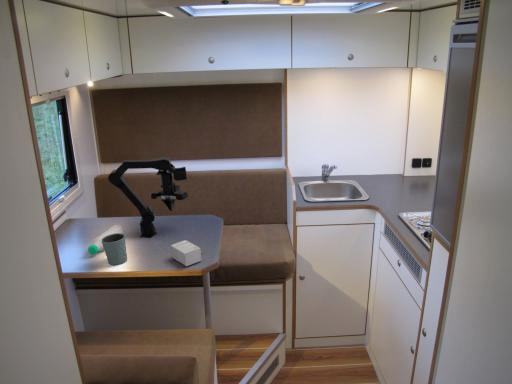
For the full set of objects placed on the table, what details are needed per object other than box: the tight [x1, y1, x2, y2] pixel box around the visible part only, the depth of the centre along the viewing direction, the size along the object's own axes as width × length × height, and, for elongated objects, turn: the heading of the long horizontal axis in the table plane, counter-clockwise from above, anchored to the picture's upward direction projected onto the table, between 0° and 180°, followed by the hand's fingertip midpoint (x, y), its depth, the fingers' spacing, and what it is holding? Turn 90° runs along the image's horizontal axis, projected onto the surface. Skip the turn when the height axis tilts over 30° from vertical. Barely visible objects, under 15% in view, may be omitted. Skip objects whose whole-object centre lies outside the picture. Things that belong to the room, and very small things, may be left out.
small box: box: [170, 239, 202, 267], centre depth 196 cm, size 8×6×13 cm
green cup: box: [102, 233, 128, 267], centre depth 199 cm, size 10×10×12 cm
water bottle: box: [87, 223, 125, 256], centre depth 217 cm, size 7×7×25 cm
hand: (171, 210), depth 226 cm, fingers closed
